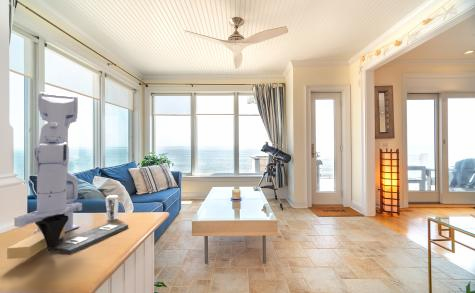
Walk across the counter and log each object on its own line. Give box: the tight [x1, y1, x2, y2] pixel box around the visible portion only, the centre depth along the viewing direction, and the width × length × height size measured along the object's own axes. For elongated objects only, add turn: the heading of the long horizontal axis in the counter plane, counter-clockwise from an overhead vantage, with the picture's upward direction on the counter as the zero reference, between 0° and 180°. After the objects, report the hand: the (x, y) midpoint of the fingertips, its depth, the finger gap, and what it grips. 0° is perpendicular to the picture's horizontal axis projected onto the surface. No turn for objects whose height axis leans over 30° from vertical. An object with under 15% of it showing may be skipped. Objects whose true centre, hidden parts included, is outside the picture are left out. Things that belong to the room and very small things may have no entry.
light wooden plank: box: [6, 226, 66, 260], centre depth 60 cm, size 16×4×2 cm, turn 10°
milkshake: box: [104, 192, 121, 222], centre depth 87 cm, size 4×5×10 cm
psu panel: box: [46, 222, 129, 255], centre depth 70 cm, size 8×20×1 cm, turn 164°
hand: (52, 246), depth 57 cm, fingers closed
